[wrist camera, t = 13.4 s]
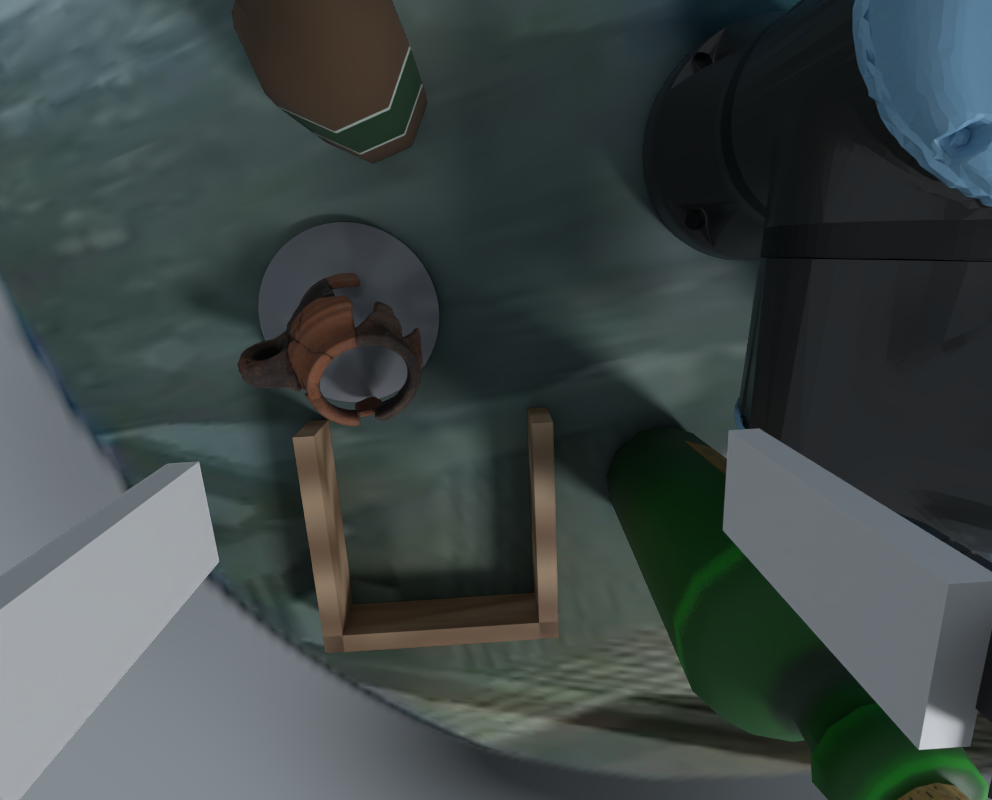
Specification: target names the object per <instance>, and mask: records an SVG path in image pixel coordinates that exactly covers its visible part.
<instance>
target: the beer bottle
mask: <svg viewBox="0 0 992 800" xmlns="http://www.w3.org/2000/svg"><path fill="white" fill-rule="evenodd" d="M232 17H233V23H234V28H235V30H236V32H237V34H238V37H239V39H240V41H241V43H242V45H243V47H244V49H245V52H246V54H247V56H248V58H249V60H250V62H251V64H252V67H253V69H254V71H255V73H256V75H257V77H258V79H259V82H260V84H261V86H262V88H263V90H264V92H265V94H266V95H267V96H268V97H269V98H270V99H271V100H272V101H273V102H274V103H275V104H276V106H278V107H279V108H280V109H282V110H283V111H284V112H286V113H287V114H288V115H290V116H291V117H293V118H294V119H295V120H297V121H298V122H299V123H301V124H302V125H303V126H305V127H306V128H307V129H309V130H310V131H311V132H313V133H314V134H315V135H317V136H318V137H319V138H321V139H322V140H323V141H325V142H327V143H329V144H331V145H333V146H335V147H337V148H340V149H342V150H344V151H346V152H349V153H351V154H353V155H355V156H358V157H360V158H362V159H364V160H367V161H369V162H371V163H375V162H377V161H380V160H382V159H384V158H386V157H389V156H391V155H393V154H395V153H398V152H400V151H402V150H404V149H407V148H409V147H411V146H412V144H413V141H414V138H415V135H416V133H417V130H418V127H419V124H420V121H421V118H422V116H423V113H424V110H425V107H426V104H427V101H426V95H425V91H424V88H423V85H422V82H421V79H420V76H419V73H418V70H417V67H416V64H415V61H414V57H413V54H412V51H411V48H410V45H409V43H408V40H407V38H406V35H405V33H404V30H403V27H402V25H401V22H400V20H399V17H398V15H397V12H396V10H395V7H394V5H393V2H392V0H235V3H234V6H233V10H232Z"/></svg>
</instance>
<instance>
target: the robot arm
mask: <svg viewBox="0 0 992 800" xmlns="http://www.w3.org/2000/svg"><path fill="white" fill-rule="evenodd" d="M643 165H644V174H645V180H646V184H647V188H648V191H649V195H650V197H651V200H652V202H653V204H654V206H655V209H656V211H657V212H658V214H659V216H660V217H661V219H662V220H663V222H664V223H665V224H666V225H667V227H668V228H669V229H670V230H671V231H672V232H673V233H674V234H675V235H676V236H677V237H678V238H679V239H680V240H682V241H683V242H684V243H686V244H687V245H689V246H690V247H692V248H694V249H696V250H698V251H699V252H702V253H704V254H707V255H710V256H713V257H717V258H722V259H729V260H759V262H758V270H757V278H756V285H755V293H754V300H753V308H752V316H751V323H750V331H749V338H748V344H747V351H746V358H745V364H744V371H743V377H742V384H741V391H740V397H739V398H738V400H737V403H736V405H735V410H734V417H735V422H736V426H737V430H729V435H728V451H727V468H726V484H725V500H724V517H723V531H724V532H725V533H726V534H727V535H728V537H729V538H730V539H731V540H732V541H733V542H734V543H735V544H736V546H737V547H738V548H739V549H740V550H741V551H742V552H743V553H744V555H745V556H746V557H747V558H748V559H749V560H750V561H751V562H752V564H753V565H754V566H755V567H756V568H757V569H758V570H759V571H760V573H761V574H762V575H763V576H764V577H765V578H766V579H767V580H768V581H769V583H770V584H771V585H772V586H773V587H774V588H775V589H776V590H777V592H778V593H779V594H780V595H781V596H782V597H783V598H784V599H785V601H786V602H787V603H788V604H789V605H790V606H791V607H792V608H793V610H794V611H795V612H796V613H797V614H798V615H799V616H800V617H801V618H802V620H803V621H804V622H805V623H806V624H807V625H808V626H809V627H810V629H811V630H812V631H813V632H814V633H815V634H816V635H817V636H818V638H819V639H820V640H821V641H822V642H823V643H824V644H825V645H826V647H827V648H828V649H829V650H830V651H831V652H832V653H833V654H834V656H835V657H836V658H837V659H838V660H839V661H840V662H841V663H842V664H843V666H844V667H845V668H846V669H847V670H848V671H849V672H850V673H851V675H852V676H853V677H854V678H855V679H856V680H857V681H858V682H859V684H860V685H861V686H862V687H863V688H864V689H865V690H866V691H867V693H868V694H869V695H870V696H871V697H872V698H873V699H874V700H875V701H876V703H877V704H878V705H879V706H880V707H881V708H882V709H883V710H884V712H885V713H886V714H887V715H888V716H889V717H890V718H891V719H892V721H893V722H894V723H895V724H896V725H897V726H898V727H899V728H900V730H901V731H902V732H903V733H904V734H905V735H906V736H907V737H908V738H909V740H910V741H911V742H912V743H913V744H914V745H915V746H916V747H917V749H918V750H925V749H939V748H953V747H967V746H970V745H971V740H972V735H973V731H974V726H975V721H976V716H977V712H978V711H979V712H980V713H981V714H982V715H983V716H985V717H986V718H987V719H988V720H989V721H990V722H991V723H992V0H800V1H799V2H798V3H797V4H795V5H794V6H793V7H792V8H791V9H789V10H784V11H776V12H768V13H762V14H757V15H753V16H749V17H746V18H744V19H741V20H738V21H736V22H734V23H731V24H729V25H728V26H726V27H724V28H722V29H720V30H719V31H717V32H715V33H714V34H712V35H711V36H710V37H708V38H707V39H706V40H704V41H703V42H702V43H701V44H700V45H698V46H697V47H696V48H695V49H694V50H693V51H692V52H691V53H690V54H689V55H688V56H687V57H686V58H685V59H684V60H683V61H682V62H681V63H680V64H679V65H678V66H677V67H676V68H675V69H674V71H673V72H672V73H671V75H670V76H669V77H668V79H667V80H666V82H665V83H664V85H663V87H662V88H661V90H660V92H659V94H658V96H657V98H656V100H655V102H654V105H653V107H652V109H651V112H650V115H649V119H648V122H647V126H646V131H645V137H644V146H643ZM770 258H807V259H770ZM839 259H865V260H839ZM902 260H921V261H902ZM962 261H967V262H962ZM218 563H219V558H218V553H217V548H216V543H215V539H214V534H213V529H212V524H211V519H210V514H209V509H208V504H207V499H206V494H205V489H204V484H203V479H202V474H201V469H200V464H199V462H186V463H169V464H166V465H165V466H163V467H162V468H160V469H159V470H157V471H156V472H154V473H153V474H151V475H150V476H148V477H147V478H145V479H144V480H142V481H141V482H139V483H138V484H136V485H135V486H133V487H132V488H131V489H129V490H128V491H126V492H125V493H123V494H122V495H120V496H119V497H117V498H116V499H114V500H113V501H111V502H110V503H108V504H107V505H105V506H104V507H102V508H101V509H99V510H98V511H97V512H95V513H94V514H92V515H91V516H89V517H88V518H86V519H85V520H83V521H82V522H80V523H79V524H77V525H76V526H74V527H73V528H71V529H70V530H68V531H67V532H65V533H64V534H62V535H61V536H59V537H58V538H57V539H55V540H53V541H52V542H50V543H49V544H48V545H46V546H45V547H43V548H42V549H40V550H39V551H37V552H36V553H34V554H33V555H31V556H30V557H28V558H27V559H25V560H24V561H22V562H21V563H20V564H18V565H16V566H15V567H13V568H12V569H10V570H9V571H8V572H6V573H5V574H3V575H2V576H0V800H19V799H20V798H21V797H22V796H23V795H24V793H25V792H26V791H27V790H28V789H29V788H30V786H31V785H32V784H33V783H34V782H35V780H36V779H37V778H38V777H39V776H40V774H41V773H42V772H43V771H44V770H45V769H46V767H47V766H48V765H49V764H50V763H51V761H52V760H53V759H54V758H55V757H56V755H57V754H58V753H59V752H60V751H61V749H62V748H63V747H64V746H65V745H66V743H67V742H68V741H69V740H70V739H71V738H72V736H73V735H74V734H75V733H76V731H77V730H78V729H79V728H80V727H81V726H82V724H83V723H84V722H85V721H86V720H87V719H88V717H89V716H90V715H91V714H92V712H93V711H94V710H95V709H96V708H97V707H98V705H99V704H100V703H101V702H102V701H103V699H104V698H105V697H106V696H107V695H108V694H109V692H110V691H111V690H112V689H113V687H114V686H115V685H116V684H117V683H118V682H119V680H120V679H121V678H122V677H123V676H124V674H125V673H126V672H127V671H128V670H129V668H130V667H131V666H132V665H133V664H134V663H135V661H136V660H137V659H138V658H139V657H140V655H141V654H142V653H143V652H144V651H145V649H146V648H147V647H148V646H149V645H150V644H151V642H152V641H153V640H154V638H156V636H157V635H158V634H159V633H160V632H161V630H162V629H163V628H164V627H165V626H166V624H167V623H168V622H169V621H170V619H172V617H173V616H174V615H175V614H176V613H177V611H178V610H179V609H180V608H181V607H182V605H183V604H184V603H185V602H186V601H187V599H188V598H189V597H190V596H191V595H192V594H193V592H194V591H195V590H196V589H197V588H198V586H199V585H200V584H201V583H202V582H203V580H204V579H205V578H206V577H207V576H208V574H209V573H210V572H211V571H212V570H213V569H214V567H215V566H216V565H217V564H218ZM988 798H991V799H992V779H991V784H990V788H989V793H988Z"/></svg>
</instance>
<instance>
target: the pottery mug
mask: <svg viewBox="0 0 992 800" xmlns="http://www.w3.org/2000/svg"><path fill="white" fill-rule="evenodd" d="M359 285H360V280H359V278H358V277H357V275H356V274H354V273H341V274H335V275H332V276H329V277H327V278H324V279H322V280H320V281H318V282H317V283H315V284H314V285H312V286H311V287H310V288H309V290H308V291H307V292H306V293H305V294H304V296H303V298H302V299H301V301H300V304H299V306H298V307H297V309H296V310H295V312H294V313H293V315H292V317H291V319H290V321H289V322H288V323H287V328H286V331H284V332H283V333H282V334H281V335H279V336H277V337H276V338H273V339H271V340H266V341H264V342H260V343H257V344H255V345H253V346H251V347H249V348H247V349H246V350H245V351H244V352H243V353H242V354H241V356H240V359H239V362H238V364H237V365H238V367H239V372H240V373H241V375H242V377H243V379H244V381H246V382H247V383H249V384H250V385H252V386H253V387H256V388H261V389H273V388H278V387H288V388H291V389H293V390H295V391H300V390H301V388H303V389H305V390H306V391H307V393H306V394H305V396H306V397H307V398H308V399H309V400H310V401H311V403H312V405H313V406H314V408H315V409H316V410H317V411H318V412H319V413H320V414H321V415H323V416H324V417H326V418H327V419H329V420H331V421H334V422H336V423H339V424H342V425H349V426H358V425H359V424H360V419H359V417H363V416H370V415H373V414H375V417H376V418H377V419H378V420H383V421H385V420H388V419H390V418H391V417H393V416H395V415H396V414H398V413H399V412H400V411H401V410H403V409H404V408H405V407H406V406H407V405H408V404H409V403H410V402H411V400H412V399H413V397H414V395H415V393H416V390H417V389H418V385H419V383H420V371H421V369H422V365H423V358H422V350H421V337H420V332H419V329H418V328H415V329H414V330H413V332H412V333H410V334H408V335H406V336H405V337H402V327H401V324H400V322H399V320H398V319H397V318H396V317H395V316H394V313H393V310H392V308H391V307H390V306H389V305H386V304H384V303H382V302H378V301H377V302H375V303H374V307H373V312H372V313H371V314H369V315H368V317H367V318H366V319H365V320H364V321H363V322H362V323H361V324H360V325H359V326H357V327H355V326H354V319H353V311H352V307H353V304H352V301H351V300H350V299H349V298H348V297H346V296H336V297H335V294H334V292H333V291H332V290H333V289H338V288H345V287H358V286H359ZM358 346H381V347H384V348H387V349H390V350H392V351H394V352H396V353H397V354H399V355H400V356H401V357H402V358H403V359H404V361H405V363H406V365H407V379H406V381H405V383H404V385H403V387H402V389H401V390H400V391H399V392H398V393H397V395H395V396H394V397H392V398H390V399H389V400H386V401H384V402H382V401H381V400H380V399H378V398H377V397H374V396H372V397H369V398H366V399H363V400H361V401H359V402H357V403H356V404H355V409H356V410H347V409H342V408H338V407H336V406H334V405H332V404H330V403H329V402H328V401H327V400H326V399H325V398H324V396H323V395H322V393H321V391H320V379H321V376H322V374H323V372H324V370H325V368H326V367H327V365H328V364H329V363H330V362H331V361H332V360H333V359H334V358H336V357H337V356H338V355H340V354H342V353H343V352H346V351H348V350H350V349H353V348H356V347H358Z"/></svg>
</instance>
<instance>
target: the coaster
mask: <svg viewBox="0 0 992 800" xmlns="http://www.w3.org/2000/svg"><path fill="white" fill-rule="evenodd" d="M341 273H354V274H356V275H357V277H358V278H359V280H360V285H359V286H358V287H345V288H338V289H333V290H332V291H333V292H334V294H335V297H336V296H346V297H348V298H349V299H350V300H351V301H352V304H353V307H352V311H353V319H354V326H355V327H357V326H359V325H360V324H361V323H362V322H363V321H364V320H365V319H366V318H367V317H368V315H369V314H371V313H372V312H373V307H374V303H375V302H377V301H378V302H382V303H384V304H386V305H389V306H390V307H391V308H392V310H393V313H394V316H395V317H396V318H397V319H398V320H399V322H400V324H401V327H402V337H405V336H406V335H408V334H410V333H412V332H413V330H414V329H415V328H418V329H419V332H420V337H421V350H422V358H423V365H422V368H423V367H424V366H425V364H426V362H427V361H428V359H429V357H430V355H431V353H432V351H433V348H434V346H435V343H436V339H437V336H438V331H439V322H440V310H439V303H438V297H437V293H436V290H435V286H434V284H433V282H432V279H431V277H430V275H429V273H428V271H427V270H426V268H425V266H424V265H423V263H422V262H421V261H420V259H419V258H418V257H417V256H416V255H415V253H414V252H413V251H412V250H411V249H410V248H409V247H408V246H406V245H405V244H404V243H402V242H401V241H400V240H399V239H397V238H395V237H394V236H392V235H390V234H389V233H387V232H384V231H382V230H380V229H378V228H375V227H371V226H368V225H364V224H359V223H352V222H334V223H326V224H322V225H319V226H315V227H312V228H310V229H308V230H305V231H303V232H301V233H300V234H298V235H296V236H295V237H293V238H292V239H291V240H290V241H288V242H287V243H286V244H285V245H284V246H283V247H282V248H281V249H280V250H279V251H278V252H277V253H276V255H275V256H274V258H273V259H272V261H271V262H270V264H269V266H268V268H267V270H266V272H265V274H264V277H263V280H262V283H261V287H260V293H259V305H258V310H259V321H260V325H261V330H262V333H263V336H264V339H265V341H266V340H271V339H273V338H276V337H277V336H279V335H281V334H282V333H283V332H284V331H286V328H287V323H288V322H289V321H290V319H291V317H292V315H293V313H294V312H295V310H296V309H297V307H298V306H299V304H300V301H301V299H302V298H303V296H304V294H305V293H306V292H307V291H308V290H309V288H310V287H311V286H312V285H314V284H315V283H317V282H318V281H320V280H322V279H324V278H327V277H329V276H332V275H335V274H341ZM421 370H422V369H421ZM406 379H407V365H406V363H405V361H404V359H403V358H402V357H401V356H400V355H399V354H397V353H396V352H394V351H392V350H390V349H387V348H384V347H381V346H358V347H356V348H353V349H350V350H348V351H346V352H343V353H342V354H340V355H338V356H337V357H336V358H334V359H333V360H332V361H331V362H330V363H329V364H328V365H327V367H326V368H325V370H324V372H323V374H322V376H321V379H320V391H321V393H322V395H323V396H324V397H326V398H330V399H334V400H338V401H346V402H359V401H361V400H363V399H366V398H369V397H372V396H374V397H377V398H378V399H379V398H382V397H385V396H387V395H390V394H392V393H394V392H396V391H398V390H399V389H401V388H402V387H403V385H404V383H405V381H406Z"/></svg>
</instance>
